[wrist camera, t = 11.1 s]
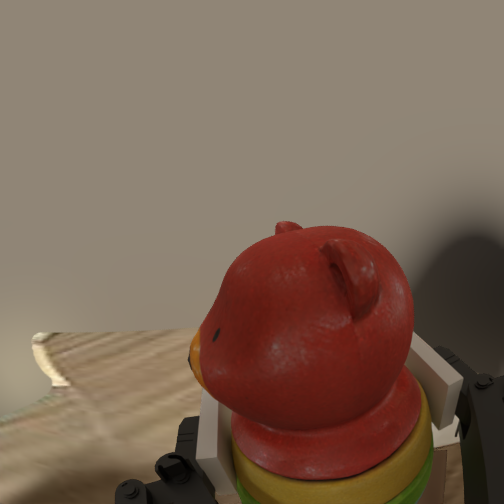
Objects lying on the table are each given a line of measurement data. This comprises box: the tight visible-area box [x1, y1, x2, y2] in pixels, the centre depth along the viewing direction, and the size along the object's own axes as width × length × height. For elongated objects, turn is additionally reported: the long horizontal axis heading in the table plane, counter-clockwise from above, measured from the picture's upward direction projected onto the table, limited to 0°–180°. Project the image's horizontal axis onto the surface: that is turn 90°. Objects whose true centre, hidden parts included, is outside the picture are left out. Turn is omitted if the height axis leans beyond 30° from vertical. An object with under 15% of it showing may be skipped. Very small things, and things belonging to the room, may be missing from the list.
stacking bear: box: [188, 221, 434, 504], centre depth 11 cm, size 11×10×18 cm
